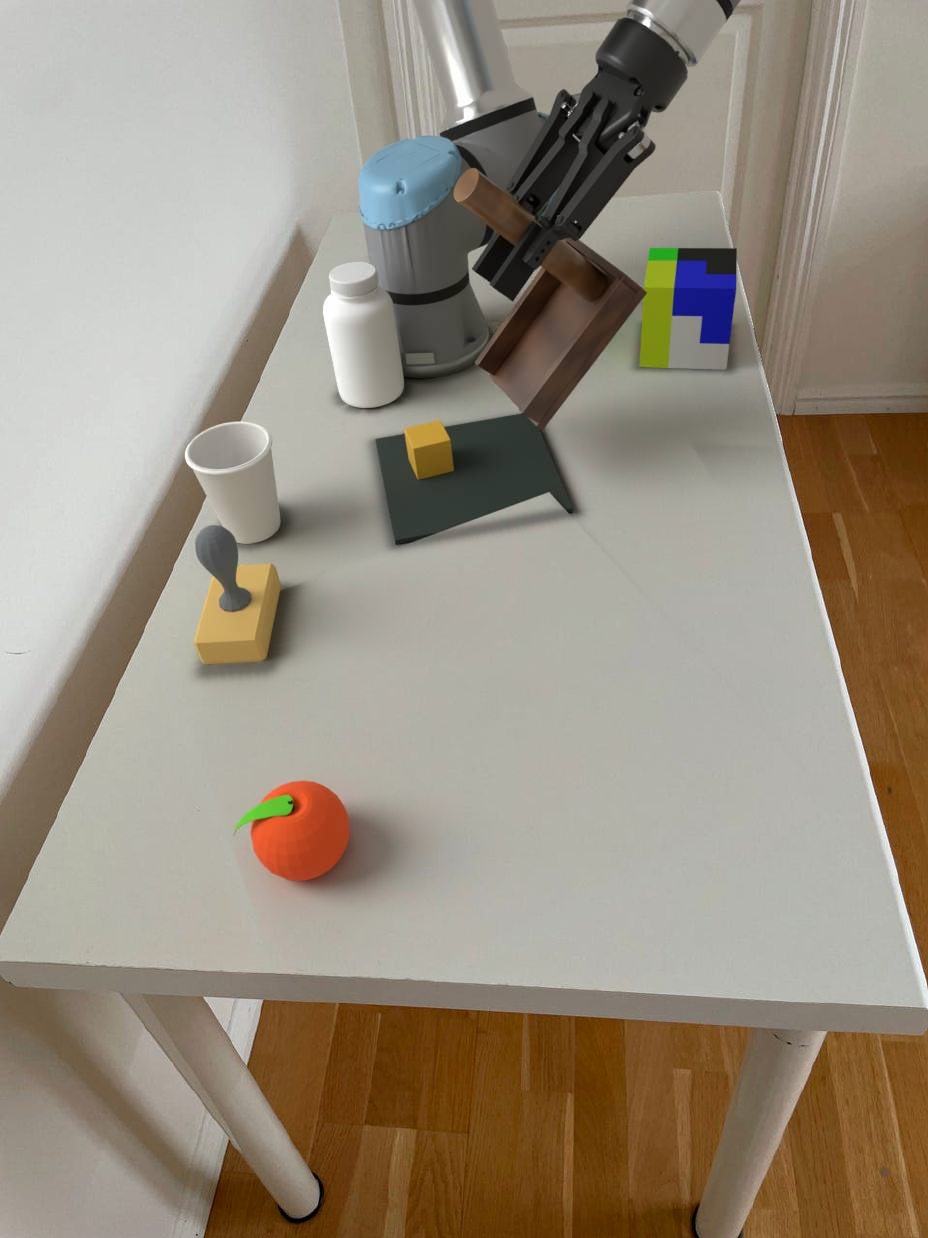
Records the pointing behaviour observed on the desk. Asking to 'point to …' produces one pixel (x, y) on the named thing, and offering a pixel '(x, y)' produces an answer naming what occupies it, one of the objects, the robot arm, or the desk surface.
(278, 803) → the clementine
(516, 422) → the mat
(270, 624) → the rubber stamp
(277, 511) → the dixie cup
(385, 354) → the pill bottle
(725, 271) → the puzzle toy
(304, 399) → the desk surface
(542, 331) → the wooden peg tray
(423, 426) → the block
